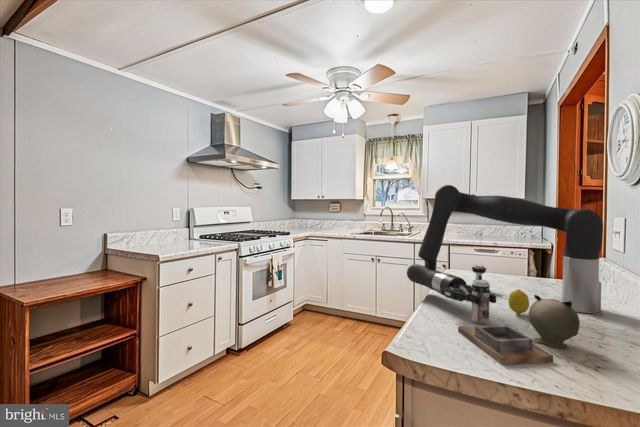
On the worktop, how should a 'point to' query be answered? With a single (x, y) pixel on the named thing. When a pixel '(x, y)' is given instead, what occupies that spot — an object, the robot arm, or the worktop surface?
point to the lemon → (518, 301)
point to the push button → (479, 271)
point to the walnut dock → (505, 344)
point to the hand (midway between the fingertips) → (487, 300)
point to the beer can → (481, 311)
